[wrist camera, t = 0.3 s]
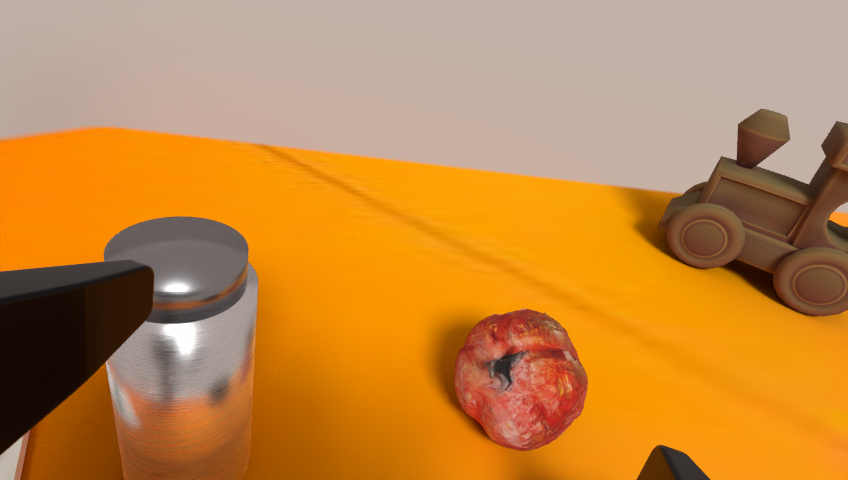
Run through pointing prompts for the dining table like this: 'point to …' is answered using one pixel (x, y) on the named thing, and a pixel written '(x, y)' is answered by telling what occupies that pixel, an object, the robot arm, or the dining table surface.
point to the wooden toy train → (770, 218)
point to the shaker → (187, 354)
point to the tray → (13, 459)
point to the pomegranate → (520, 379)
